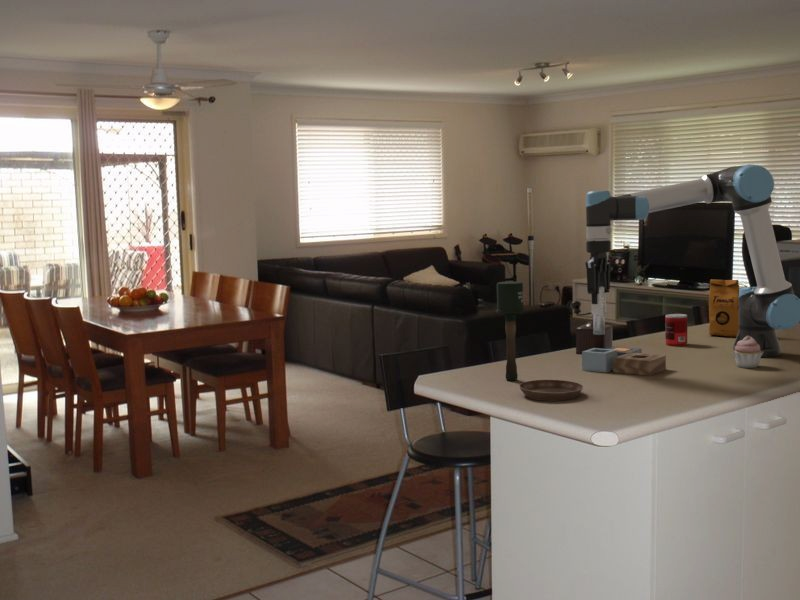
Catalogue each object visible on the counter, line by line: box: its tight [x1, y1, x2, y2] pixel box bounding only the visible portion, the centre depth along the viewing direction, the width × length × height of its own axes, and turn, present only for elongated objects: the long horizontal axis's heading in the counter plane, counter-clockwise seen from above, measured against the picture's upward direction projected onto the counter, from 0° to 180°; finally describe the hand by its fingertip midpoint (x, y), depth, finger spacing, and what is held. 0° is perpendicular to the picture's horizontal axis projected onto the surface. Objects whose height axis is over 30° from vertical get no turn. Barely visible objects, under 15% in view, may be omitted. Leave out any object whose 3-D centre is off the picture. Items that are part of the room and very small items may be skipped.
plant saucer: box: [518, 379, 584, 402], centre depth 250 cm, size 18×18×3 cm
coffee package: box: [708, 278, 740, 338], centre depth 346 cm, size 10×12×22 cm
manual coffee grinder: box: [570, 300, 613, 355], centre depth 320 cm, size 16×11×18 cm
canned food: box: [664, 313, 688, 347], centre depth 329 cm, size 8×8×11 cm
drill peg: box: [592, 287, 606, 335], centre depth 284 cm, size 4×4×15 cm
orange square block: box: [613, 348, 631, 352], centre depth 296 cm, size 5×5×4 cm
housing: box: [607, 345, 643, 357], centre depth 296 cm, size 10×10×4 cm
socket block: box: [613, 352, 667, 376], centre depth 281 cm, size 12×12×4 cm
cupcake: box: [731, 336, 763, 369], centre depth 282 cm, size 9×9×10 cm
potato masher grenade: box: [495, 281, 525, 382], centre depth 272 cm, size 8×9×30 cm
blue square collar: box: [581, 348, 617, 373], centre depth 286 cm, size 8×8×6 cm
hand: (598, 313), depth 284 cm, fingers closed on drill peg, 3 cm apart
